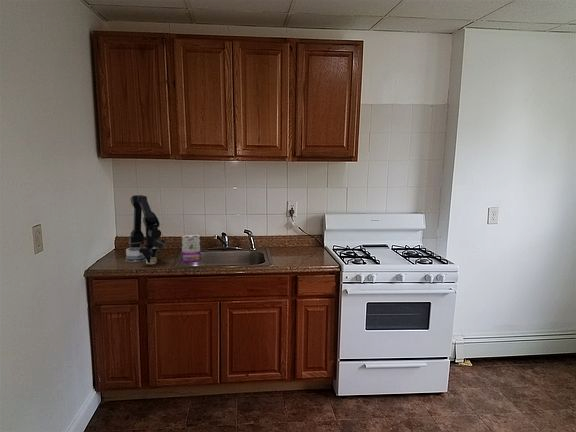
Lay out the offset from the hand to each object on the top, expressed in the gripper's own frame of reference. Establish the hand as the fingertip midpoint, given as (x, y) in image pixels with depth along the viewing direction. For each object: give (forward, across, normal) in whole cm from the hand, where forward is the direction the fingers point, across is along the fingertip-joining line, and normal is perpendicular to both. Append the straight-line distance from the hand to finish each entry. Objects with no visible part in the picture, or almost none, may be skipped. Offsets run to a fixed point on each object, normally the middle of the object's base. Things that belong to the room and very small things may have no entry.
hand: (151, 261), depth 227 cm
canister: (+1, +5, +12) cm, 13 cm away
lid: (+1, 0, 0) cm, 1 cm away
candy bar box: (+1, +8, -22) cm, 23 cm away
